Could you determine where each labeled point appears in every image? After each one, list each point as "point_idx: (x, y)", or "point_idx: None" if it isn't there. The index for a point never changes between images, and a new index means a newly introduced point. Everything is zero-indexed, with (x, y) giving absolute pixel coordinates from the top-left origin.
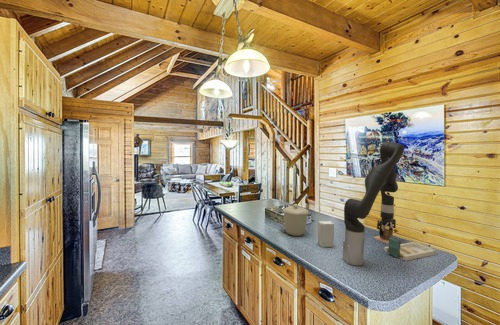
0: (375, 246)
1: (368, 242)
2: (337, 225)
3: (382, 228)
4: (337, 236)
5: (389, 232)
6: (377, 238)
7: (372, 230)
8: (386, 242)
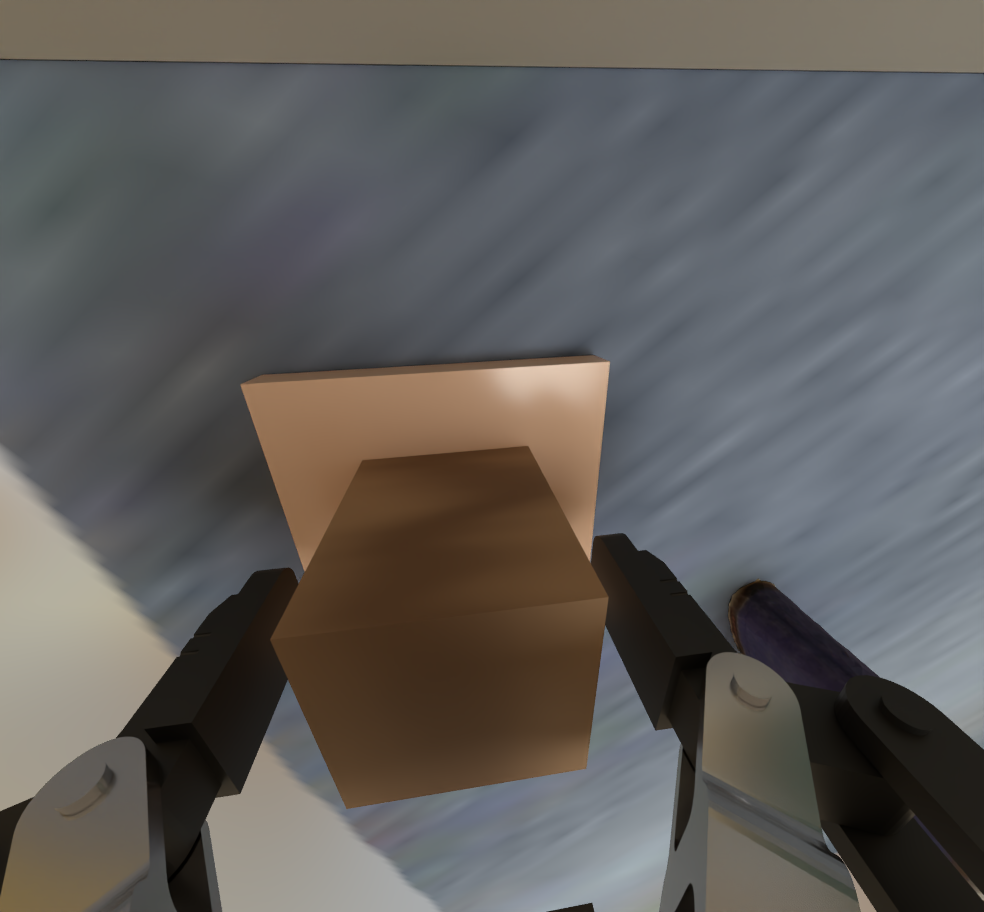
0: (887, 333)
1: (799, 490)
2: (605, 857)
3: (806, 764)
4: (902, 676)
5: (455, 572)
6: (589, 554)
7: (327, 783)
8: (604, 379)
